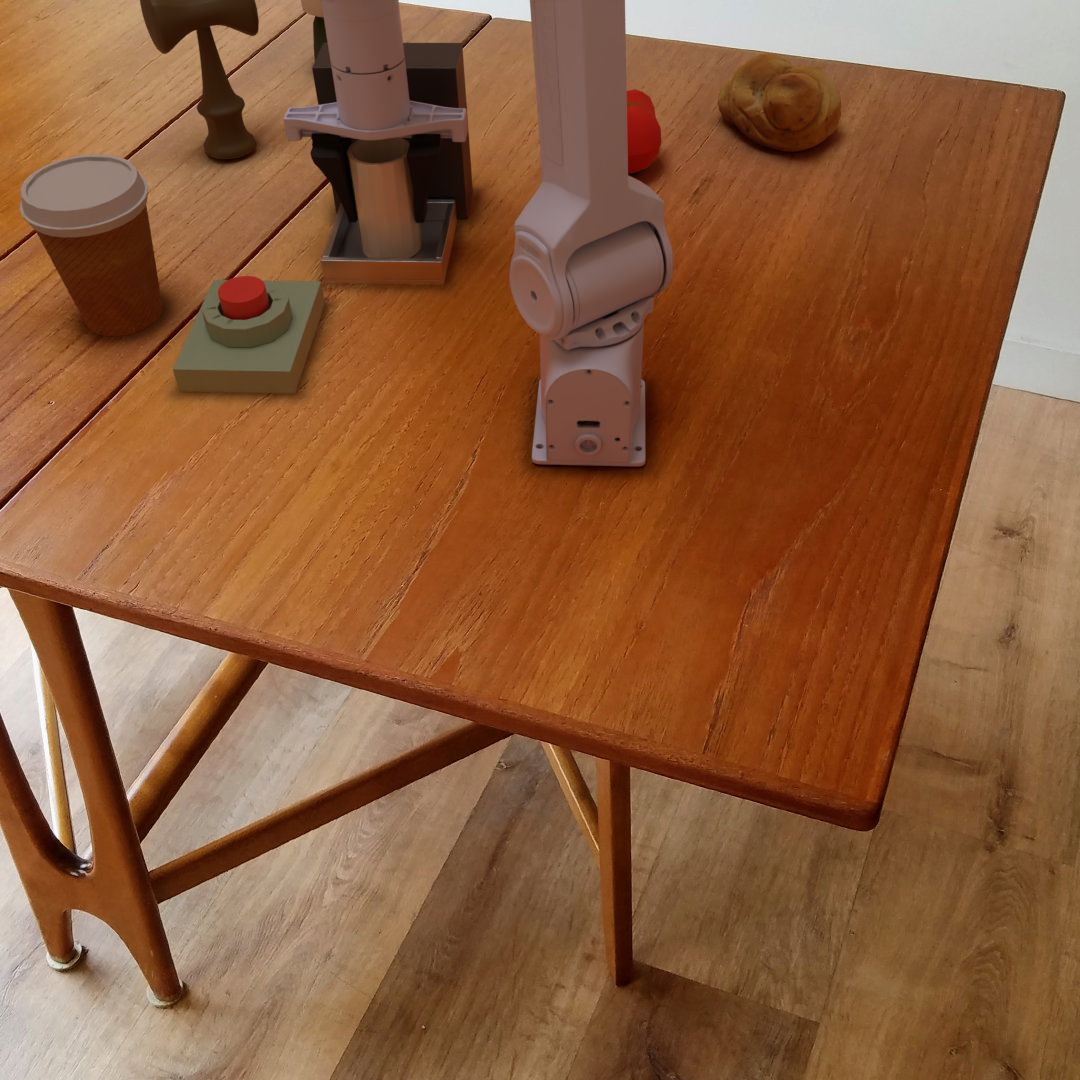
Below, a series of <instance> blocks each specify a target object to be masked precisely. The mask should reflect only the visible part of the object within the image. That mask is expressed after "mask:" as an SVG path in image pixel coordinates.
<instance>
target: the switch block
mask: <svg viewBox="0 0 1080 1080" xmlns="http://www.w3.org/2000/svg"><path fill="white" fill-rule="evenodd" d="M227 280H228V279H213V280H212V283H211V285H210V286H209V289H208V291H207V293H206V296H205V297H204V300H203V302H202V304H201V307H200V308H199V311H198V312H197V315H196V317H195V319H194V321H193V324H192V326H191V328H190V329H189V330H190V331H189V332H188V335H187V337H186V339H185V342H184V344H183V346H182V348H181V350H180V352H179V354H178V356H177V358H176V361H175V363H174V365H173V368H172V372H173V375H174V378H175V381H176V384H177V388H178V390H179V392H186V393H187V392H188V393H189V392H190V393H191V392H192V393H196V392H197V393H234V394H235V393H236V394H237V393H241V394H242V393H244V394H285V395H286V394H291V395H294V394H296V393H297V389H298V387H299V383H300V380H301V377H302V375H303V372H304V368H305V365H306V363H307V359H308V357H309V354H310V350H311V348H312V344H313V342H314V338H315V335H316V333H317V329H318V327H319V323H320V321H321V317H322V314H323V311H324V308H325V305H326V299H325V295H324V290H323V285H322V281H321V280H320V281H319V280H318V281H317V280H262V281H263V282H264V283H265V287H266V291H267V296H268V300H269V309H268V310H267V311H266V312H265V313H263V314H262V315H260V316H258V317H254V318H251V319H247V320H231V319H229V318H227V317H226V316H225V315H224V314H223V311H222V307H221V304H220V300H219V296H218V289H219V287H220V286H221V285H222V284H223V283H224V282H226V281H227Z"/></svg>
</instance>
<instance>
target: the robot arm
mask: <svg viewBox="0 0 1080 1080" xmlns="http://www.w3.org/2000/svg"><path fill="white" fill-rule="evenodd" d="M321 3H322V9H323V16H324V22H325V29H326V35H327V42H328V48H329V55H330V61H331V67H332V74H333V80H334V86H335V93H336V99H337V102H335V103H328V104H322V105H318V104H316V105H309V106H299V107H297V106H296V107H288V108H287V110H286V112H285V114H284V116H283V124H284V130H285V135H286V140H287V141H288V142H299V141H301V140H302V138H311V149H310V153H309V154H310V158H311V160H312V162H313V164H314V165H315V166H316V167H317V168H318V169H319V170H320V172H321V173H322V174H323V176H324V177H325V178H326V179H327V181H328V182H329V184H330V185H331V188H332V187H333V188H334V190H335V192H336V194H337V195H338V197H339V199H340V201H341V203H342V206H343V208H344V210H345V213H346V215H347V218H348V221H349V222H357V215H356V209H355V203H354V196H353V190H352V183H351V177H350V170H349V164H348V157H347V151H348V148H349V146H351V145H352V141H351V138H354V139H360V140H382V139H389V138H412V139H411V143H410V145H409V148H408V152H407V161H408V165H409V170H410V174H411V180H412V185H413V193H414V214H415V220H416V223H424V222H425V218H426V214H427V197H428V188H429V182H430V177H431V175H432V172H433V169H434V167H435V164H436V161H437V158H438V156H439V152H440V148H441V144H442V140H443V138H452V141H453V142H465V141H466V137H467V132H468V130H469V125H468V126H467V116H468V111H467V112H466V109H465V108H449V107H442V106H437V105H431V104H426V103H420V102H415V101H410V100H409V91H408V82H407V73H406V63H405V55H404V46H403V43H404V38H403V37H404V36H403V27H402V19H401V11H400V1H399V0H321ZM529 8H530V23H531V24H530V25H531V36H532V37H531V38H532V52H533V66H534V81H535V94H536V95H535V96H536V107H537V109H536V110H537V111H536V112H537V122H538V123H537V124H538V138H539V151H540V152H539V155H540V166H541V183H540V185H539V186H538V188H537V190H536V191H535V192H534V194H533V196H532V197H531V198H530V199H529V201H528V202H527V204H526V205H525V206H524V208H523V209H522V211H521V212H520V214H519V215H518V217H517V218H516V220H515V221H514V224H513V230H514V231H513V233H514V250H513V255H512V257H511V261H510V266H509V267H510V268H509V274H508V275H509V287H510V291H511V295H512V299H513V301H514V304H515V306H516V309H517V310H518V312H519V315H520V316H521V317H522V319H523V321H524V322H525V323H526V325H528V326H529V328H531V330H533V331H534V332H535V333H537V334H538V335H539V336H538V337H539V360H540V361H539V368H540V379H539V380H538V387H537V388H538V389H537V399H536V409H535V418H534V428H533V439H532V448H531V462H532V463H533V464H535V465H553V466H555V465H556V466H557V465H559V466H560V465H561V466H596V467H598V466H599V467H602V466H603V467H642V466H645V464H646V382H645V380H644V379H642V374H643V354H644V335H645V334H644V333H645V319H646V317H647V316H648V315H649V314H651V313H653V312H654V304H655V303H654V302H655V296H656V295H658V294H662V293H663V292H664V291H665V290H666V289H667V288H668V287H669V286H670V284H671V281H672V277H673V273H674V251H673V246H672V242H671V239H670V237H669V235H668V231H667V226H666V222H665V201H664V200H663V198H661V197H660V195H658V193H656V191H654V190H653V189H652V188H651V187H650V186H649V185H647V184H645V183H644V182H642V181H641V180H639V179H637V178H635V177H633V176H630V174H628V146H627V91H628V89H627V40H626V38H627V37H626V35H627V34H626V33H627V31H626V0H529Z"/></svg>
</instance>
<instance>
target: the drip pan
mask: <svg viewBox="0 0 1080 1080" xmlns="http://www.w3.org/2000/svg"><path fill="white" fill-rule="evenodd" d="M457 224H458V220H457V214H456V202H455V199H427V214H426V218H425V222H424V223H420V229H421V243H422V245H421V248H420V250H419V251H418V252H417V253H416V254H415V255H414V256H412V257H410V258H371V257H367V256H366V255H365V254H364V253H363V250H362V245H361V242H360V235H359V229H358V222H349V221H348V218H347V215H346V213H345V210H344V208H343V206H342V203H341V205H340V208H339V210H338V213H337V214H336V216H335V219H334V222H333V225H332V228H331V231H330V234H329V236H328V238H327V239H328V240H327V242H326V245H325V248H324V251H323V253H322V255H321V256H322V257H321V260H320V263H321V268H322V273H323V275H322V276H323V280H324V284H348V285H349V284H350V285H351V284H352V285H353V284H354V285H356V284H357V285H358V284H359V285H361V284H362V285H415V286H416V285H419V286H421V285H423V286H424V285H427V286H444V285H445V281H446V276H447V272H448V267H449V263H450V262H449V261H450V258H451V252H452V248H453V245H454V239H455V235H456V234H455V233H456V230H457Z"/></svg>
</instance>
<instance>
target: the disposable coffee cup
mask: <svg viewBox="0 0 1080 1080" xmlns="http://www.w3.org/2000/svg"><path fill="white" fill-rule="evenodd" d="M137 169H138V168H136V166H135V165H134V163H132V162H131V161H130V160H128V159H126V158H124V157H120V156H117V155H113V154H104V153H91V154H90V153H89V154H80V155H75V156H70V157H67V158H62V159H59V160H55V161H52V162H50V163H48V164H46V165H44V166H42V167H40V168H38V169H36V170H35V171H33V173H31V174H30V175H29V176H28V177H27V178H26V179H25V180H24V181H23V182H22V184H21V187H20V199H21V200H20V202H19V212H20V214H21V217H22V219H24V221H25V222H27V224H29V226H30V227H31V228H32V229H33V230H34V231H35V232H36V234H37V236H38V238H39V240H40V242H41V243H42V246H43V247H44V249H45V250H46V253H47V254H48V256H49V258H50V260H51V262H52V264H53V266H54V268H55V269H56V271H57V273H58V275H59V277H60V279H61V281H62V283H63V284H64V286H65V288H66V290H67V292H68V294H69V295H70V297H71V299H72V301H73V303H74V305H75V307H76V308H77V311H78V312H79V314H80V316H81V318H82V320H83V321H84V324H85V325H86V328H87V329H88V330H90V331H91V332H93V333H94V334H97V335H100V336H104V337H122V336H128V335H131V334H135V333H138V332H141V331H142V330H145V329H147V328H148V327H149V328H150V326H152V325H153V324H154V323H156V322H157V321H158V319H159V318H160V317H161V315H162V314H163V310H164V309H163V302H162V301H163V300H162V294H161V289H160V288H161V287H160V281H159V276H158V270H157V269H158V268H157V263H156V257H155V251H154V244H153V238H152V231H151V224H150V219H149V218H150V217H149V212H148V207H147V203H148V198H149V197H148V196H149V185H148V182H147V180H146V178H145V177H144V176H143V175H142V174H140V173H139V171H138V170H137Z"/></svg>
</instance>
